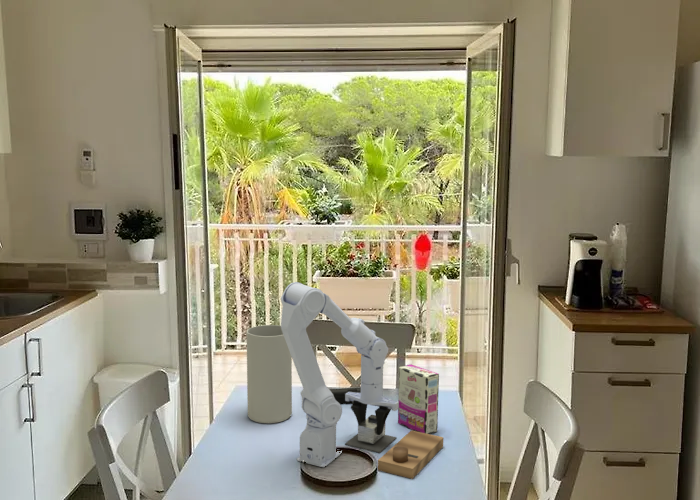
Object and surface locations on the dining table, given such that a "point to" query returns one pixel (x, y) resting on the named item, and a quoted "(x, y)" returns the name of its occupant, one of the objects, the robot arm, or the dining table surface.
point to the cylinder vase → (268, 375)
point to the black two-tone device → (340, 394)
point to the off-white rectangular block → (369, 430)
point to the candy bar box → (418, 399)
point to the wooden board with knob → (410, 454)
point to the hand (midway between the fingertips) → (371, 431)
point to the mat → (375, 447)
